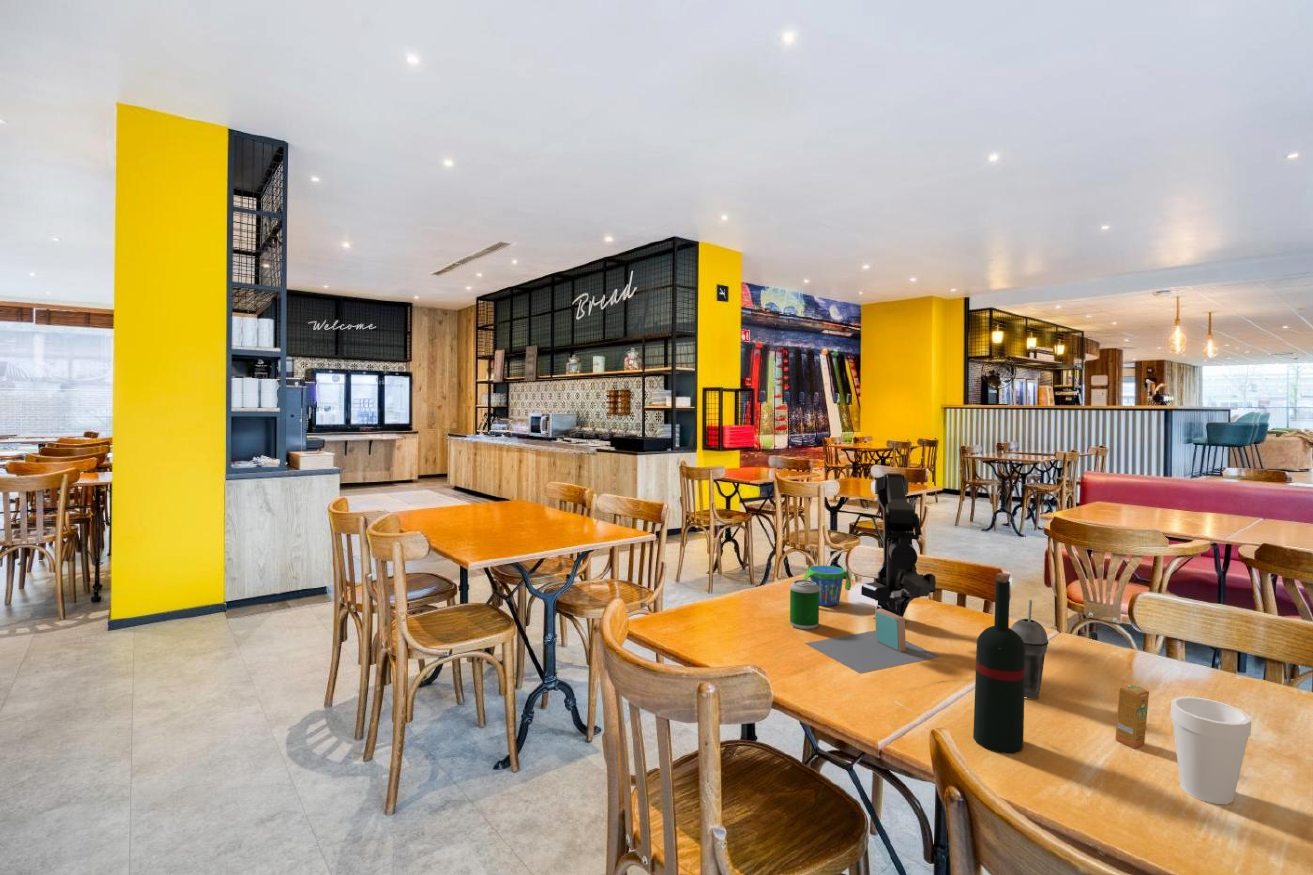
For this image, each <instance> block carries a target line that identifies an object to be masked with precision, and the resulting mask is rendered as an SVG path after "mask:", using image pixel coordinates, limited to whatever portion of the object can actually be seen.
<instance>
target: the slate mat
mask: <svg viewBox="0 0 1313 875" xmlns="http://www.w3.org/2000/svg"><path fill="white" fill-rule="evenodd" d="M804 644H805V645H807V646H808V647H810V648H812V649H814V650H816V651H818V652H820V653H822V654H824V655H825V656H827V657H829V658H830V659H833V660H835V661H836V662H838V663H839V664H841V665H843V666H845V667H847V668H849V669H851V670H853V671H854V672H857V673H858V674H866V673H869V672H875V671H879V670H885V669H889V668H893V667H894V668H895V667H899V666H904V665H907V664H908V665H909V664H914V663H917V662H922V661H928V660H933V659H937V658H941V657H942V655H939V654H937V653H935V652H933V651H930V650H928V649H926V648H923V647H921V646H918V645H916V644H914V643H912V642H909V641H907V640H905V645H906V651H902V652H898V651H896V650H894V649H892V648H890V647H888V646H885V645H883V644H881V643H879V642H877V641H876V630H872V631H866V632H865V631H864V632H860V633H855V634H854V633H853V634H848V635H844V636H843V635H842V636H837V637H831V638H826V639H820V640H816V641H815V640H813V641H808V642H805V643H804Z"/></svg>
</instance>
